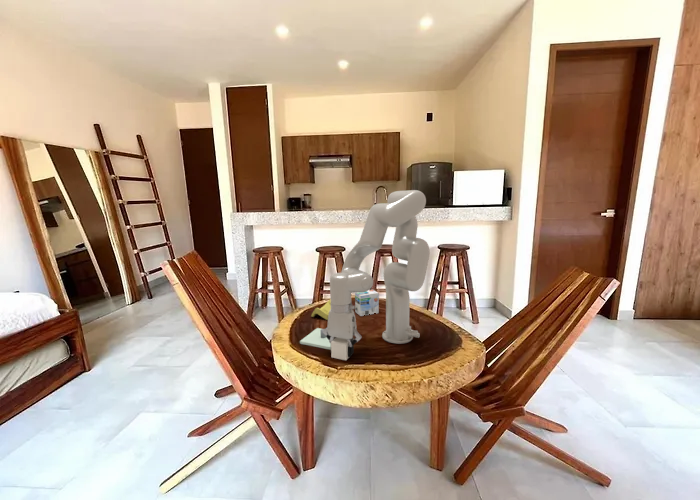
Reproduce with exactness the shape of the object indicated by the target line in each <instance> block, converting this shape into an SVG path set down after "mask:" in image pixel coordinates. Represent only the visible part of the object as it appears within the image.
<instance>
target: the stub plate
mask: <svg viewBox="0 0 700 500" xmlns="http://www.w3.org/2000/svg"><path fill="white" fill-rule="evenodd" d="M325 329H326V328H319V327H316V328H315V329H313V330H312V331H311V332H310V333H309V334H308V335H306V336H305V337H303V338H301V340H299V344H301V345H306V346H309V347H314V348H315V347H316V348H320V349H325V350H330V351H331V343H330V342H329V340H328V339H327V337H326V336H325V334H324V333H323V331H324V330H325Z"/></svg>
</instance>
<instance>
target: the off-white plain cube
mask: <svg viewBox="0 0 700 500" xmlns="http://www.w3.org/2000/svg"><path fill="white" fill-rule="evenodd" d="M348 346H349V344H348V342H347V339H342V338H337V337H336V338H335V339H334V340H333V341H332V342H331V350H330V353H331V355H330V356H331V358H332V359H333V358H334V359H338V360H342V361H347V360H348V359H349V358H350V357H348Z"/></svg>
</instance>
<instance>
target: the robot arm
mask: <svg viewBox="0 0 700 500" xmlns="http://www.w3.org/2000/svg"><path fill="white" fill-rule="evenodd" d="M426 204H427V198H426V195H425V194H424V193H423V192H422V191H420V190H417V189H411V190H397V191H392V192H391V193H390V194H389V195H387V202H386V203H385V202H384V203H375V204H373V205H372V206H371V207H370V209H369V211H368V214H367V217H366V220H365V224H364V225H363V229H362V232H361V235H360V238H359V241H358V242H357V243H356V244H355V245H354V246H353V247H352V249H351V250H350V251H349V252H348V254H347V255H346V257H345V259H344V262H343V265H342V268H341V271H340V272H335V273H332V274H331V275H330V277H329V292H330V297H329V300H331V309H330V311H329V316H328V320H327V327H326V328H324V329H325V330H324V331H323V333H324V334H325V336H326V337H327V339H328V340H329V342H330V343H331V342H332V341H333V340H334V339H335V338H336V337H337V338H342V339H347V342H348V344H349V346H348V357H349V358H350V357H351V356H352V355H353V354H354V352H355V351H354V350H355V349H354V347H355V346H354V345H355V344H356V343H358V342H359V341H360V340H361V339H362V335H361V334H360V333H359V332H358V329H357V322H356V321H357V319H356V315H355V311H354V310H355V305H353V303H352V294H355V293H360V292H366V291H368V290H372V287H373V285H374V279H373V277H372V275H371V274H369V273H368V272H367V271H363V270H360V267H361V264H362V263H363V261H364V260H365V258H367V257H368V256H370V255H371V254H373V253H375V252H377V251H379V250H380V249H381V248H382V246H383V243H384V240H385V237H386V234H387V231H388V228H395V232H394V236H393V242H392V246H391V253H392V256H393V257H394V258H396V259H397V260H401V261H405V262H407V264H406V263H403V262H398V261H397V262H396V261H394V262H390V263H388V264H387V265H386V266H385V267H384V270H383V282H384V285H385V286H384V287H385V330H384V331H382V335H381V337H382V339H383V340H384V341H385V342H387V343H391V344H398V345H402V344H407V343H410V342H411V341H412V340H413V339H414V338H418V339H419V338H420V332H419V331H418V330H414V329H412V325H410V297H411V296H410V293H409V292H418V291H419V290H420V289H421V288H422V287H423V285H424V283H425V280H426V275H427V270H428V265H429V261H430V253H431V252H430V246H429V244H428V242H427V241H426V240H425V239H424V238H421V237H420V238H419V237H417V234H418V225H419V224H418V219H417V217H416V216H417V215H418V214H420V213H421V212H422V211H423V210H424V208H425V207H426Z"/></svg>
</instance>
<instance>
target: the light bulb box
mask: <svg viewBox="0 0 700 500" xmlns="http://www.w3.org/2000/svg"><path fill="white" fill-rule="evenodd" d="M379 294H380V293H379V292H377V291H376V290H375V289H370V290H368V291H366V292H360V293H354V296H355V297H354V303H355V304H354V306H355V309H354V310H355V311H354V313H356V314H357V315H359V316H360V317H363V316H364V315H365V316H370V315H375V314H374V313H376V314H379V313H380V312H379V308H380V307H379V297H380V296H379ZM369 314H370V315H369Z"/></svg>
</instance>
